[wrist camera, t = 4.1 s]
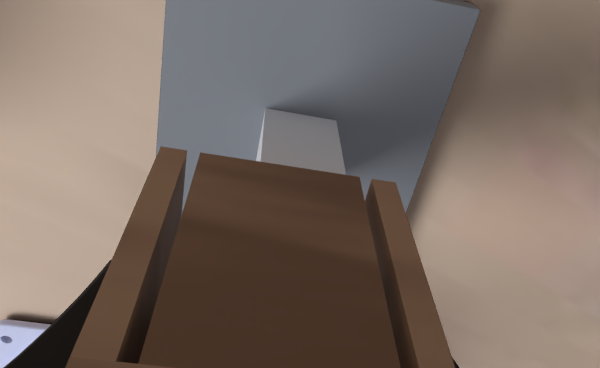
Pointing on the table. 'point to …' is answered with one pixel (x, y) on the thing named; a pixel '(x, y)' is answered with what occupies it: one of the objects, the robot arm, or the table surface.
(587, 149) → the table surface
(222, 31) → the post base
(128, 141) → the table surface
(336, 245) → the sliding lid crate
